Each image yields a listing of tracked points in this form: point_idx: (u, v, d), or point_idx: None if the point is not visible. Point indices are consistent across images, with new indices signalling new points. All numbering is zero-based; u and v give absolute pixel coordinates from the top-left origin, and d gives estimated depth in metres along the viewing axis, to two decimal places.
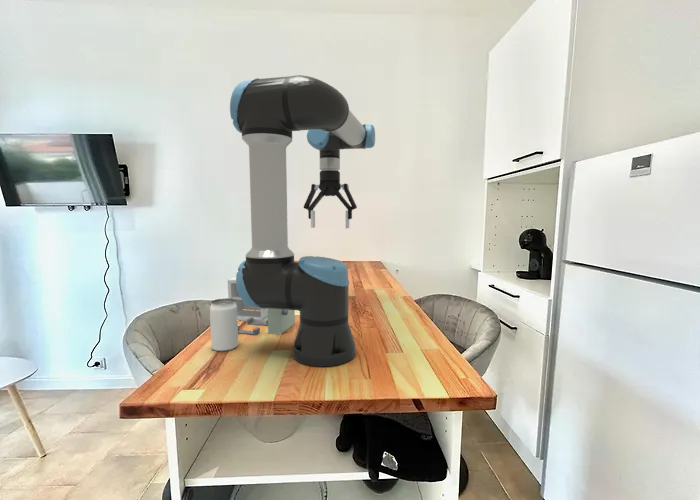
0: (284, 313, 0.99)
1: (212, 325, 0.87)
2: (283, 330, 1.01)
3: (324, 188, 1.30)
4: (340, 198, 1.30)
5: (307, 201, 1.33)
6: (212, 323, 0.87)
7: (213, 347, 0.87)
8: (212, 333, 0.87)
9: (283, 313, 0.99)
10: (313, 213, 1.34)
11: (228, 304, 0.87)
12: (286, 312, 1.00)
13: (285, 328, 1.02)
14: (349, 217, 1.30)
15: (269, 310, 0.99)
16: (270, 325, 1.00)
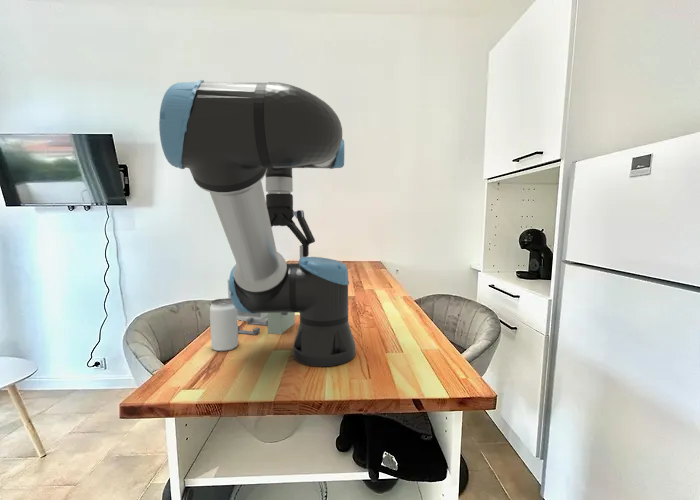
0: (284, 313, 0.99)
1: (212, 325, 0.87)
2: (283, 330, 1.01)
3: (272, 216, 0.99)
4: (292, 229, 0.99)
5: None
6: (212, 323, 0.87)
7: (213, 347, 0.87)
8: (212, 333, 0.87)
9: (283, 313, 0.99)
10: None
11: (228, 304, 0.87)
12: None
13: (285, 328, 1.02)
14: (304, 254, 1.00)
15: None
16: (270, 325, 1.00)
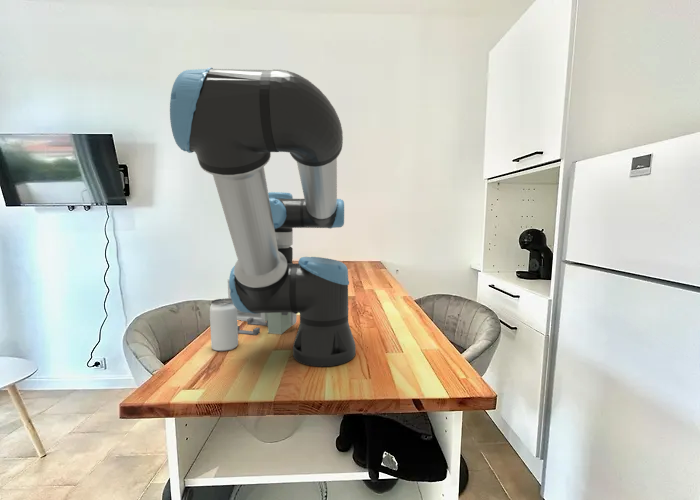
0: (284, 313, 0.99)
1: (212, 325, 0.87)
2: (283, 330, 1.01)
3: None
4: None
5: None
6: (212, 323, 0.87)
7: (213, 347, 0.87)
8: (212, 333, 0.87)
9: (283, 313, 0.99)
10: None
11: (228, 304, 0.87)
12: None
13: (285, 328, 1.02)
14: None
15: None
16: (270, 325, 1.00)
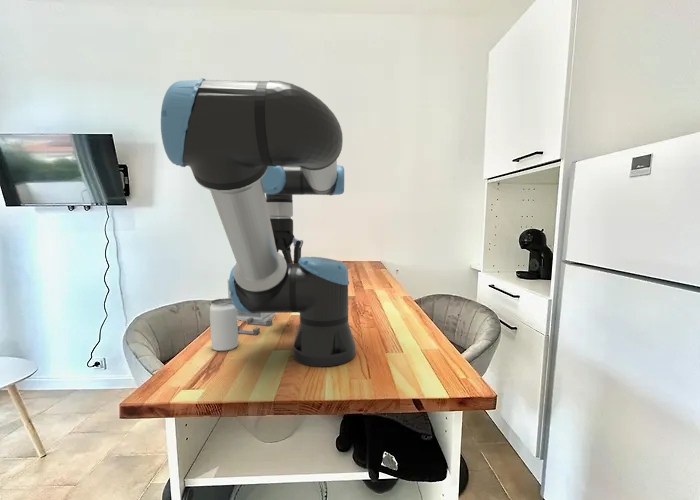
0: None
1: (212, 325, 0.87)
2: None
3: None
4: (285, 257, 1.00)
5: None
6: (212, 323, 0.87)
7: (213, 347, 0.87)
8: (212, 333, 0.87)
9: None
10: None
11: (228, 304, 0.87)
12: None
13: None
14: None
15: None
16: None
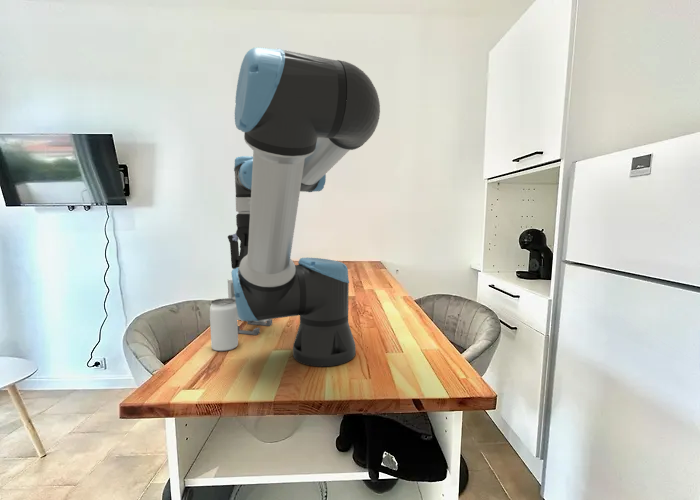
0: None
1: (212, 325, 0.87)
2: None
3: (242, 236, 0.99)
4: None
5: (232, 258, 1.02)
6: (212, 323, 0.87)
7: (213, 347, 0.87)
8: (212, 333, 0.87)
9: None
10: None
11: (228, 304, 0.87)
12: None
13: None
14: None
15: None
16: None
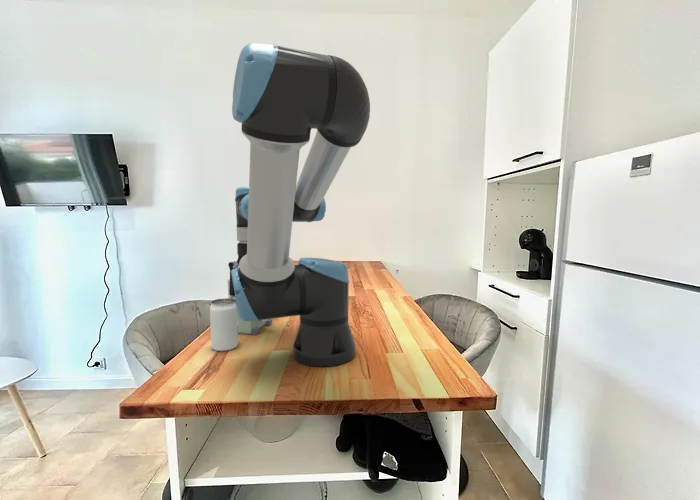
0: None
1: (212, 325, 0.87)
2: None
3: None
4: None
5: (231, 285, 1.03)
6: (212, 323, 0.87)
7: (213, 347, 0.87)
8: (212, 333, 0.87)
9: None
10: None
11: (228, 304, 0.87)
12: None
13: (255, 327, 1.01)
14: None
15: None
16: (240, 324, 0.99)
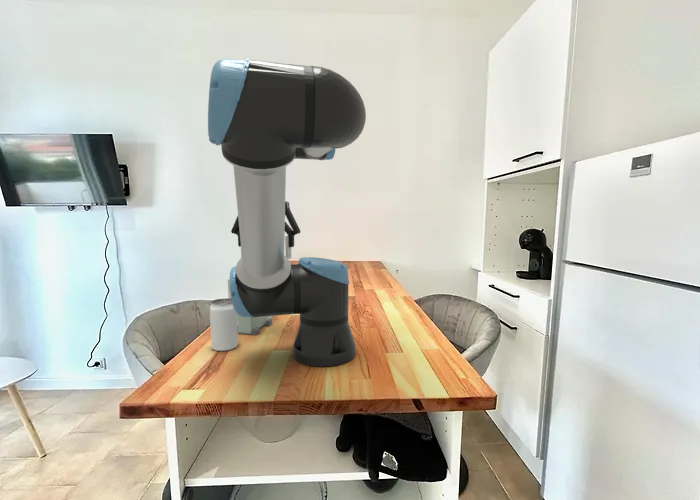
0: None
1: (212, 325, 0.87)
2: None
3: None
4: None
5: (236, 224, 1.02)
6: (212, 323, 0.87)
7: (213, 347, 0.87)
8: (212, 333, 0.87)
9: None
10: None
11: (228, 304, 0.87)
12: None
13: (255, 327, 1.01)
14: (290, 245, 1.00)
15: None
16: (240, 324, 0.99)
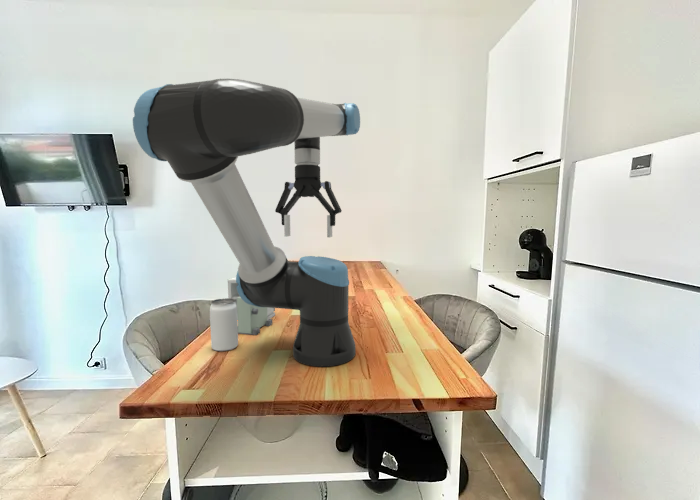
0: (254, 312, 0.99)
1: (212, 325, 0.87)
2: None
3: (300, 187, 1.04)
4: (320, 200, 1.03)
5: (280, 203, 1.07)
6: (212, 323, 0.87)
7: (213, 347, 0.87)
8: (212, 333, 0.87)
9: (253, 312, 0.99)
10: (287, 218, 1.07)
11: (228, 304, 0.87)
12: (256, 311, 0.99)
13: (255, 327, 1.01)
14: (332, 223, 1.04)
15: (239, 309, 0.99)
16: (240, 324, 0.99)
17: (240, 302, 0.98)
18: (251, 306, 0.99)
